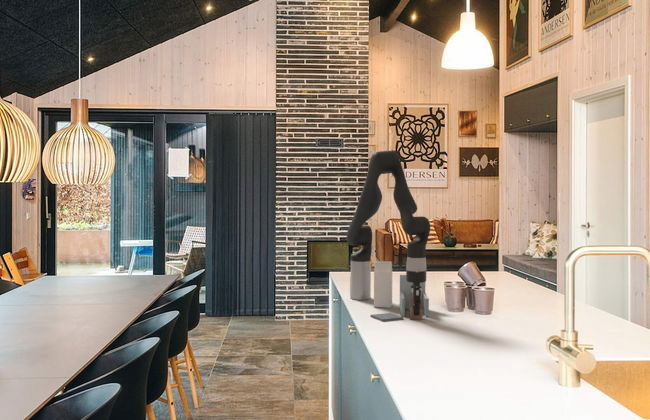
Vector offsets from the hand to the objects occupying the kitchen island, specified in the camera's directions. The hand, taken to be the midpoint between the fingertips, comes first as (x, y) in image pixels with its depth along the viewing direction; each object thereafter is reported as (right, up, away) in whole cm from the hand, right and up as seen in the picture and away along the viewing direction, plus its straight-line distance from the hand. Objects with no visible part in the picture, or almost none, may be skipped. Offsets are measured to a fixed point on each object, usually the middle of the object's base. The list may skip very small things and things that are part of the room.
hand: (416, 313), depth 215 cm
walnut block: (0, -2, 0) cm, 2 cm away
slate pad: (-11, -2, +1) cm, 11 cm away
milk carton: (-10, -1, +25) cm, 27 cm away
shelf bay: (+1, -2, +11) cm, 11 cm away
